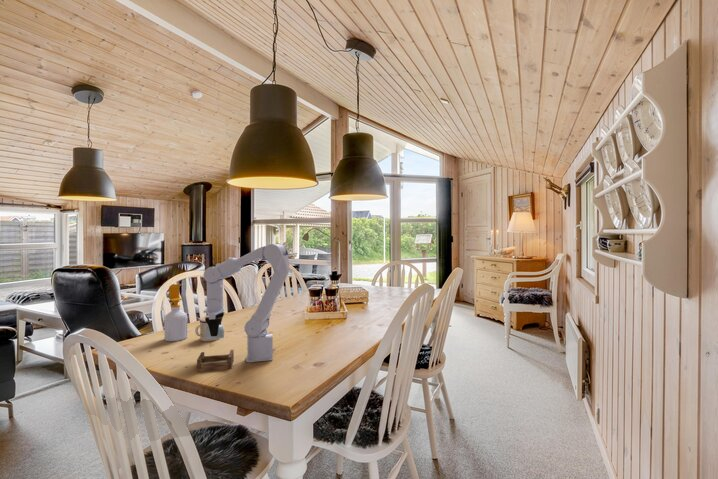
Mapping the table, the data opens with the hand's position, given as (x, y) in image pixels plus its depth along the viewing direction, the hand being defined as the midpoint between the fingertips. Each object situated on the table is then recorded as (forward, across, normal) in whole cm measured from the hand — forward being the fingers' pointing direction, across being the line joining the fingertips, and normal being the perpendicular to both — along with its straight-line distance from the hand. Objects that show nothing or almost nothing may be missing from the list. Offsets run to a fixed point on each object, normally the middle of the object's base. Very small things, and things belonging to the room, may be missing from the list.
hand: (215, 333), depth 131 cm
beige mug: (+9, -24, -7) cm, 27 cm away
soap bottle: (+9, -29, -21) cm, 37 cm away
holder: (+9, +9, +2) cm, 13 cm away
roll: (+2, 0, 0) cm, 2 cm away
